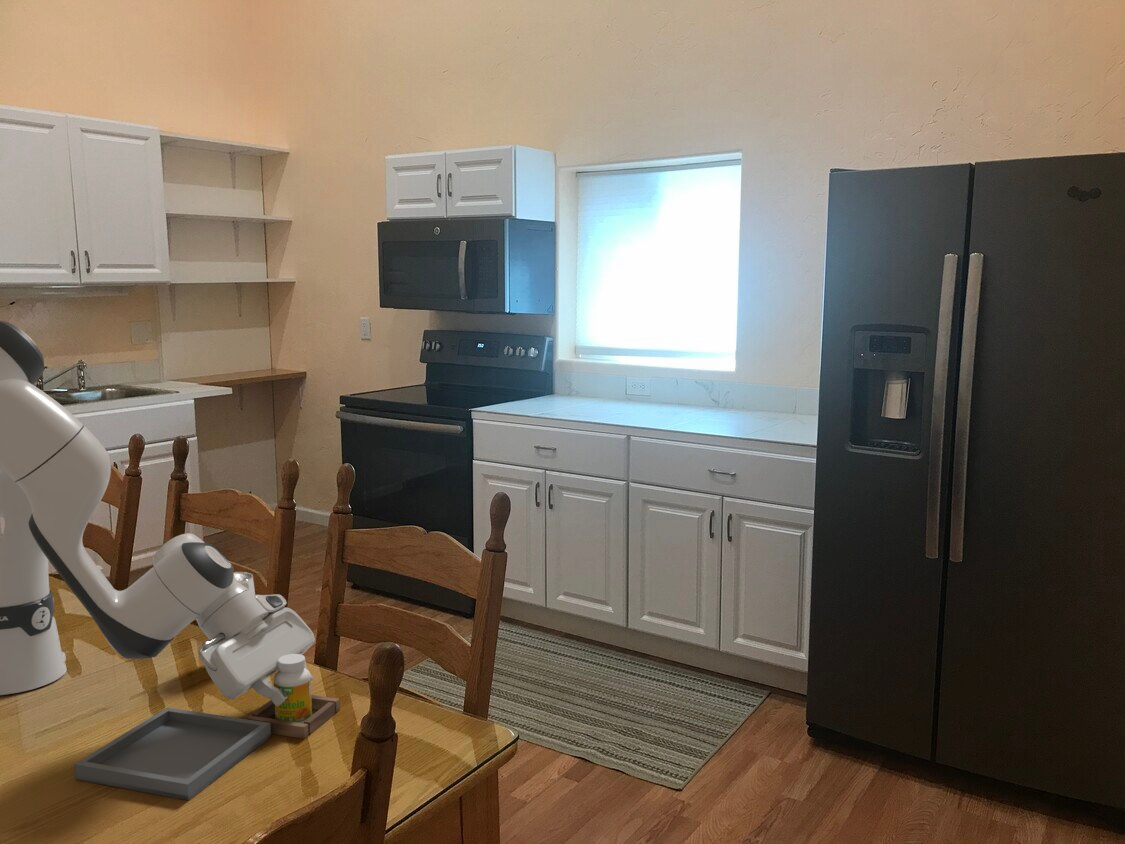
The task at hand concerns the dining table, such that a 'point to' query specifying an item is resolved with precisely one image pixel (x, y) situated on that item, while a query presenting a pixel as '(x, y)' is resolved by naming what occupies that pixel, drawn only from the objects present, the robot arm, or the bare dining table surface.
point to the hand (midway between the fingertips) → (296, 692)
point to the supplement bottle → (293, 689)
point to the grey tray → (173, 753)
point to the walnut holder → (294, 729)
